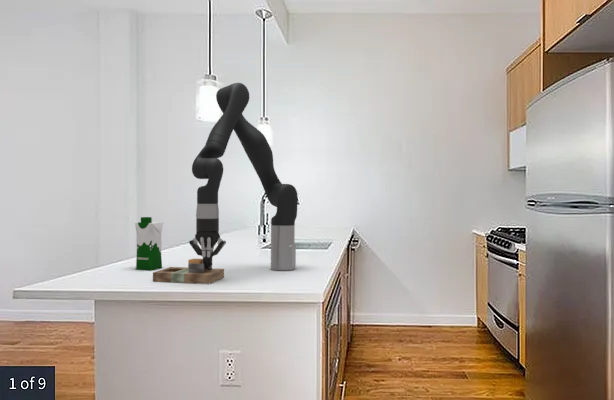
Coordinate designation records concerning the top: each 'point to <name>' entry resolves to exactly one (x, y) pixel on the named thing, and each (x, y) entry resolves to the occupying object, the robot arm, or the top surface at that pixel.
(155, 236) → the milk carton
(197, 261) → the orange block
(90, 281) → the top surface
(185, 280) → the wooden tray
